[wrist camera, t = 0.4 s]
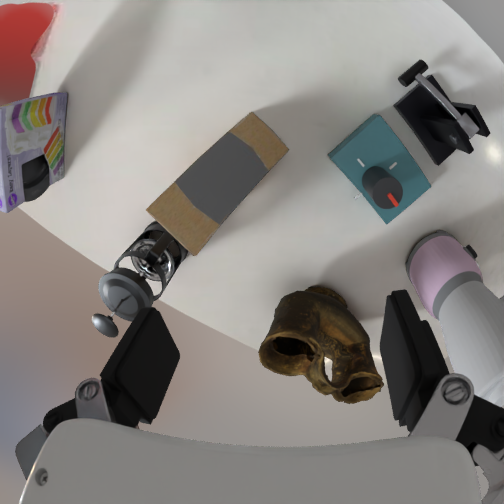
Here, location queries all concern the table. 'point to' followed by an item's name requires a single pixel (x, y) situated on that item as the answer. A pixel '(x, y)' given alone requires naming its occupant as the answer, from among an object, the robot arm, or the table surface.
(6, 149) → the cake pan box
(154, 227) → the french press
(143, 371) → the robot arm
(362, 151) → the teal dial base
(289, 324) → the pottery vessel
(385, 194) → the knob
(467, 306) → the blender
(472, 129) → the press lever
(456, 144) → the black lever stand
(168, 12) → the table surface
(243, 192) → the sandwich container
